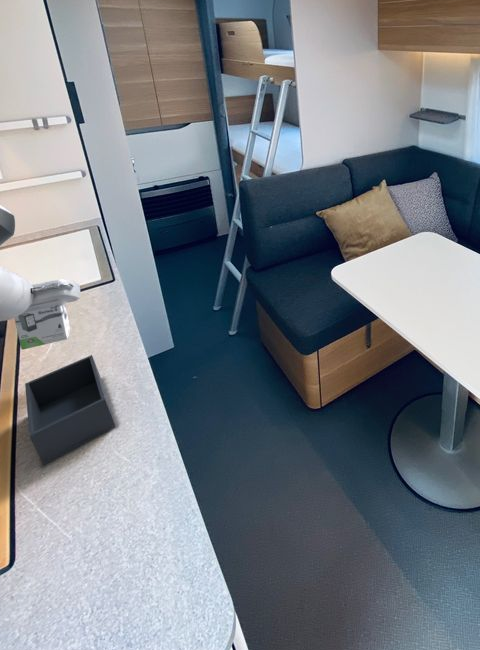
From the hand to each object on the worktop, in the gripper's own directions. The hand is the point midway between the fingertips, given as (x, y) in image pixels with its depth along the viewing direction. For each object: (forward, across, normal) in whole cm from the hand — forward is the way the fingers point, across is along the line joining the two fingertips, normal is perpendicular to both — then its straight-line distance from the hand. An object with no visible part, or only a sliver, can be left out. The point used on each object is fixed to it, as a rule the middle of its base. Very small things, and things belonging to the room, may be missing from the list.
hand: (35, 308), depth 90 cm
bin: (+4, -5, +25) cm, 26 cm away
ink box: (+8, +1, +6) cm, 10 cm away
